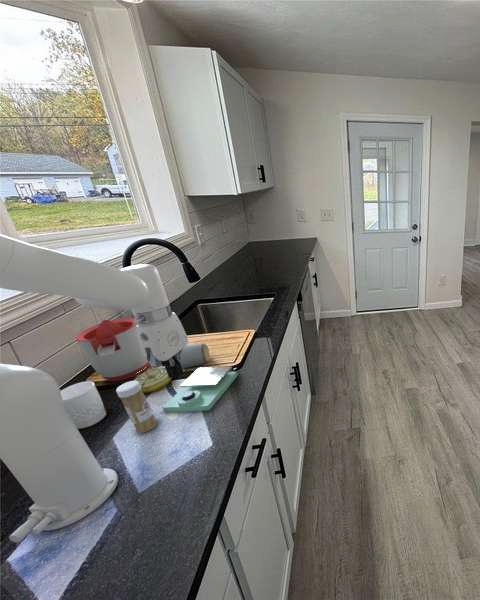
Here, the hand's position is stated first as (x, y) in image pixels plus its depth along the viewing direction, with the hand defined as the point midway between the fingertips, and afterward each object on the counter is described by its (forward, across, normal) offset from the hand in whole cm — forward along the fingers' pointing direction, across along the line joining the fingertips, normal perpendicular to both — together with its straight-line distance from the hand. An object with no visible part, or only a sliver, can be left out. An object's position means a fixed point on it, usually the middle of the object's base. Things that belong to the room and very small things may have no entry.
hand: (176, 375), depth 85 cm
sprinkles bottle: (+11, -7, +7) cm, 15 cm away
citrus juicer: (+11, +18, +34) cm, 40 cm away
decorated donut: (+11, +12, +19) cm, 24 cm away
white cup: (+11, -4, +26) cm, 28 cm away
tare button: (+8, +1, 0) cm, 8 cm away
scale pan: (+8, +10, 0) cm, 13 cm away
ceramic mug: (+10, +24, +13) cm, 29 cm away
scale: (+11, +7, 0) cm, 12 cm away
